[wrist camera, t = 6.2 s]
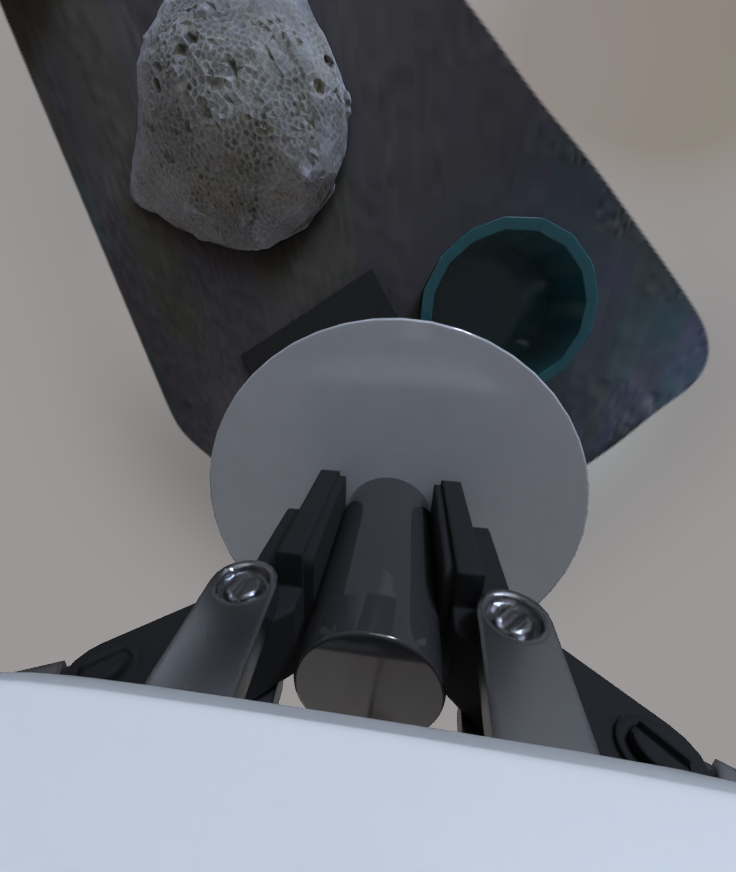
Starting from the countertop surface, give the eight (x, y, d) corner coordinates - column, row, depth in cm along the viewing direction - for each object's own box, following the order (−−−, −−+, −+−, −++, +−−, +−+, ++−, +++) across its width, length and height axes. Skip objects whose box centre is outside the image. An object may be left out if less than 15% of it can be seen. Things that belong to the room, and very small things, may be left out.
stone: (155, -152, 20) (367, -50, 18) (241, -15, 28) (400, 71, 25) (68, 167, 26) (223, 277, 23) (159, 213, 33) (284, 300, 31)
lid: (209, 306, 11) (-64, 311, 5) (618, 326, 10) (979, 369, 4) (240, 605, 15) (116, 824, 9) (532, 643, 14) (630, 923, 8)
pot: (426, 235, 28) (431, 212, 21) (567, 241, 28) (620, 220, 20) (413, 370, 32) (413, 388, 25) (536, 379, 31) (572, 402, 24)
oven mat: (242, 355, 33) (239, 355, 33) (373, 268, 30) (372, 268, 29) (354, 522, 38) (353, 525, 38) (479, 466, 34) (480, 468, 34)
